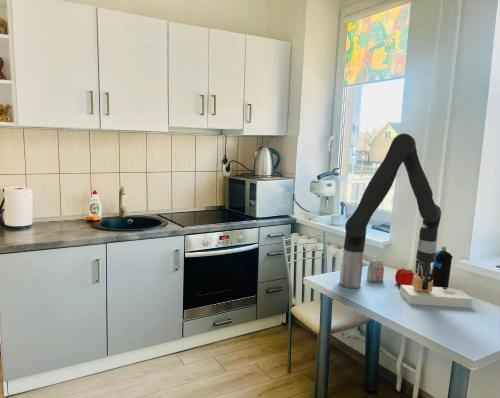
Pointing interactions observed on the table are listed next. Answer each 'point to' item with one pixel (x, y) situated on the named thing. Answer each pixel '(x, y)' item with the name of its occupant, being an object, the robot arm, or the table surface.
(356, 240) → the robot arm
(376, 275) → the small beige carton
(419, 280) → the plug
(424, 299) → the block
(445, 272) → the aerosol can
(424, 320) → the table surface
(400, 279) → the tomato
